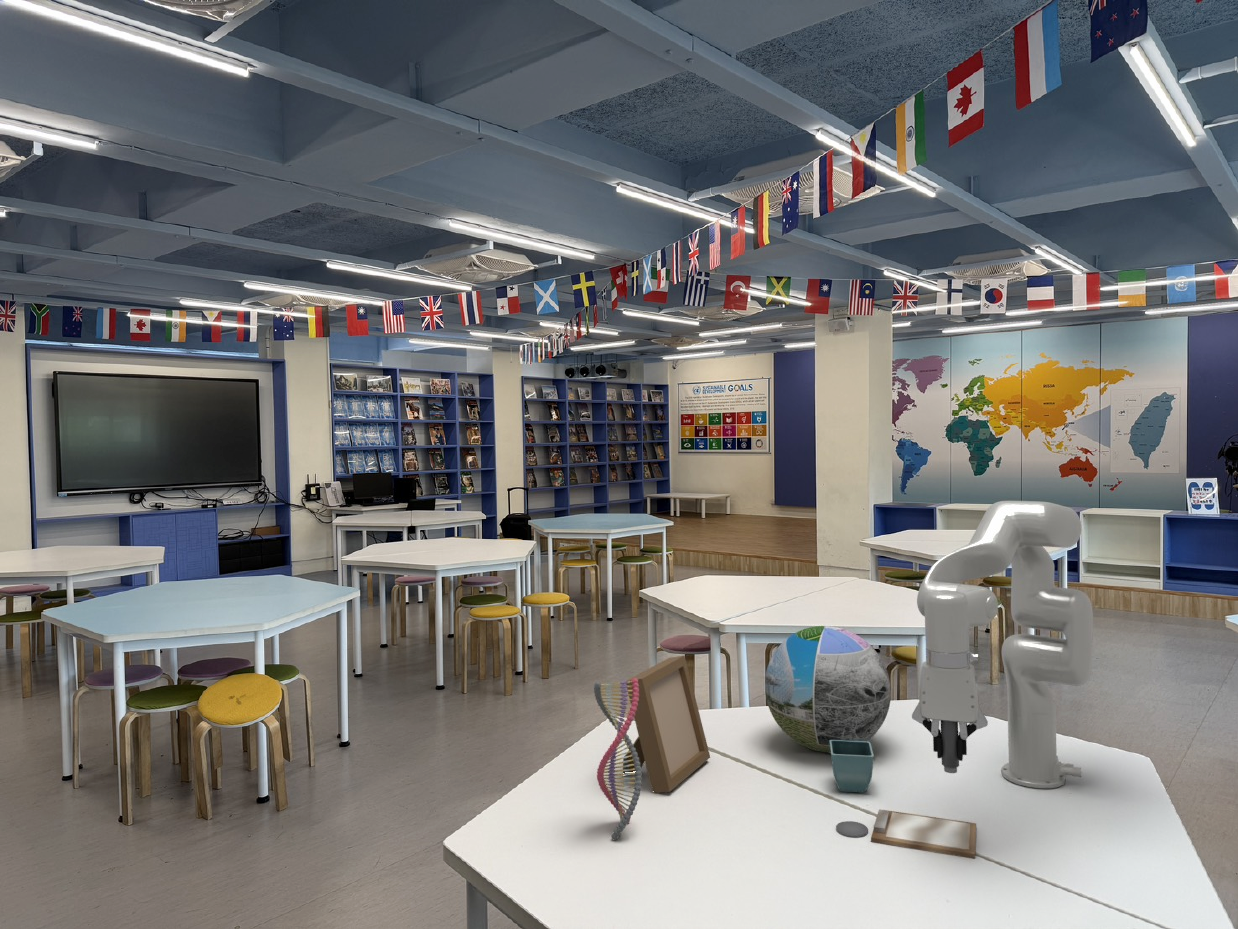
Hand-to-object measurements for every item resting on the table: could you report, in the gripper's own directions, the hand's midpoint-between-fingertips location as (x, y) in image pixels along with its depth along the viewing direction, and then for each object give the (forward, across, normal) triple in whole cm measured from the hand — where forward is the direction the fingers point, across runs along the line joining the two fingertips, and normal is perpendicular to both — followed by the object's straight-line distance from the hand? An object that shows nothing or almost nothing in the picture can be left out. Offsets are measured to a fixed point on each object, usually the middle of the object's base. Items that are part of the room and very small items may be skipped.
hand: (950, 756), depth 153 cm
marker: (+3, 0, 0) cm, 3 cm away
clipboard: (+17, +5, -3) cm, 18 cm away
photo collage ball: (+17, +30, -42) cm, 54 cm away
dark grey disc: (+17, +18, 0) cm, 25 cm away
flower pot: (+17, +21, -20) cm, 34 cm away
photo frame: (+17, +63, -14) cm, 67 cm away
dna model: (+17, +60, +16) cm, 64 cm away
